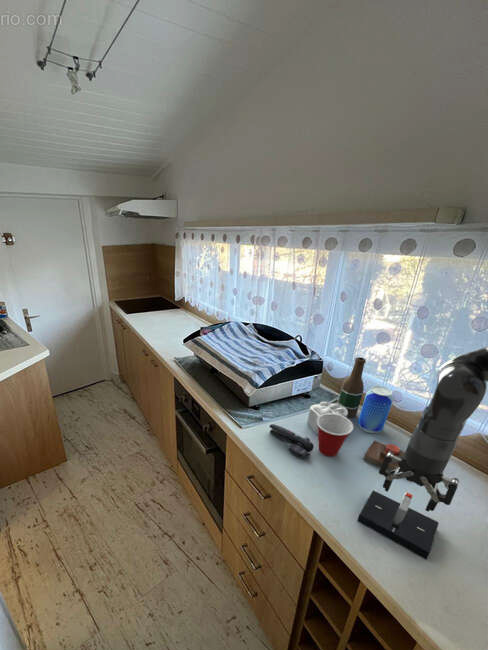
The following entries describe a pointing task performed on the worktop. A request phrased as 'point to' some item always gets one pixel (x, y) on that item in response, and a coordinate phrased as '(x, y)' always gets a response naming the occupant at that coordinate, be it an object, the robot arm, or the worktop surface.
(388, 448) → the button
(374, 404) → the beer can
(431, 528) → the lever switch
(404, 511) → the tap handle
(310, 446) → the can opener
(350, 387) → the beer bottle
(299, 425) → the worktop surface
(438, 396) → the robot arm
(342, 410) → the white bumpy block
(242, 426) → the worktop surface
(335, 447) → the plastic cup
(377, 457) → the button block
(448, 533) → the worktop surface
